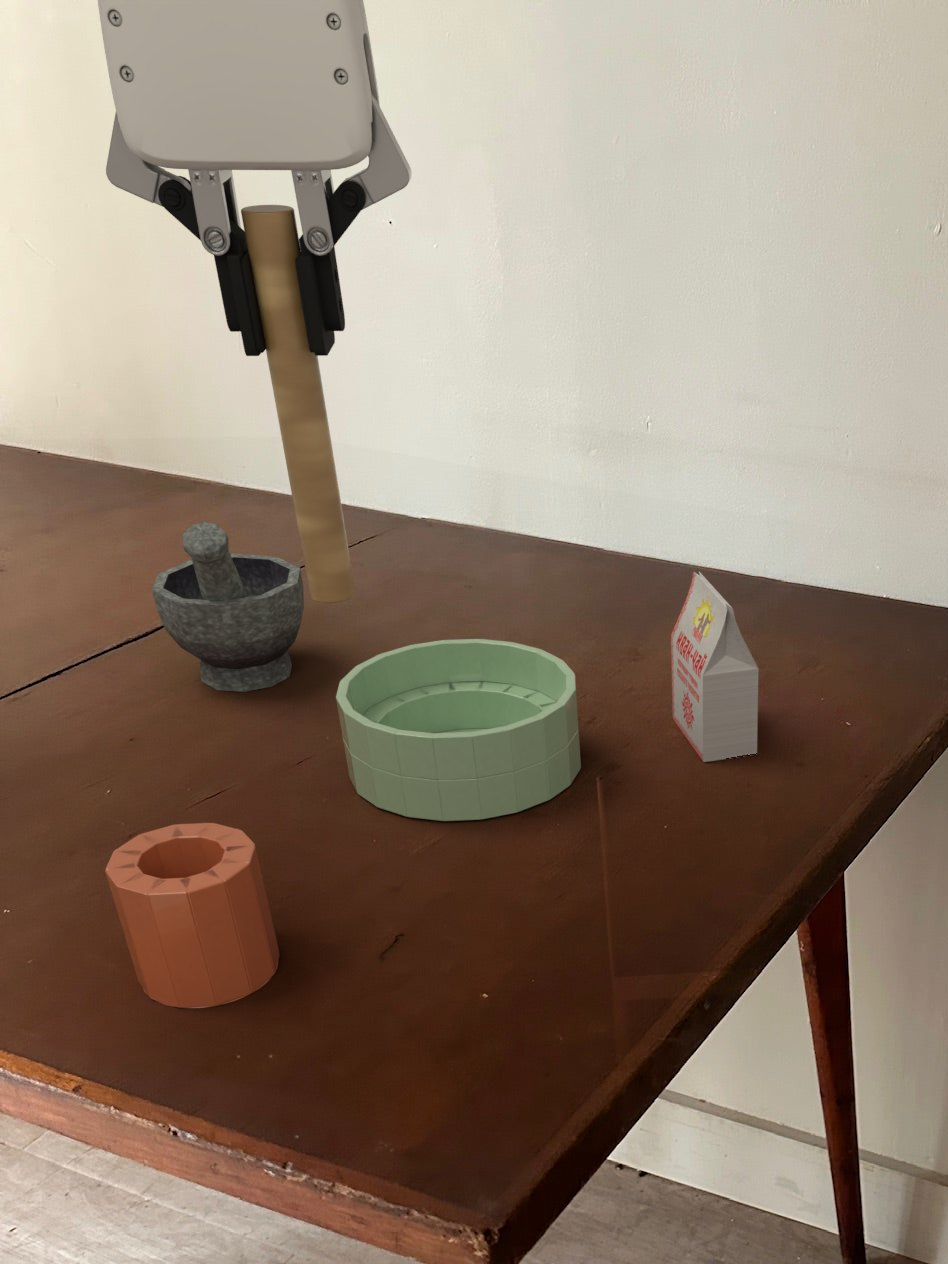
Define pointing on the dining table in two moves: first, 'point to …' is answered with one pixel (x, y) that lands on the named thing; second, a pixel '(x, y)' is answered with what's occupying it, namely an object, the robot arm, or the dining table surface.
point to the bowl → (460, 728)
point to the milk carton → (713, 677)
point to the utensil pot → (194, 914)
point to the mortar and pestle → (231, 611)
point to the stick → (299, 401)
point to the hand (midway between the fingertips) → (290, 345)
